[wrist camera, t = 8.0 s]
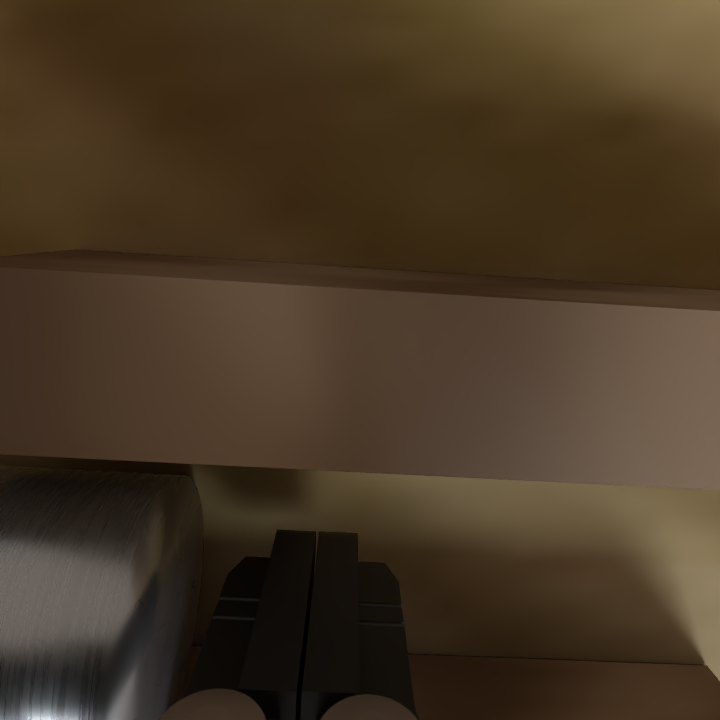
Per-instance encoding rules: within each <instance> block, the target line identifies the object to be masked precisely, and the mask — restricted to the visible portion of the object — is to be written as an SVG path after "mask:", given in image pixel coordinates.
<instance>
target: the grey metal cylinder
mask: <svg viewBox="0 0 720 720" xmlns="http://www.w3.org/2000/svg"><path fill="white" fill-rule="evenodd" d="M202 565H203V517H202V508H201V502H200V497H199V494H198V490H197V488H196V486H195V483H194V482H193V481H192V479H191V478H190V477H188V476H184V475H166V474H148V473H129V472H111V471H93V470H75V469H56V468H38V467H20V466H1V465H0V720H159V718H160V717H161V716H162V715H163V714H164V713H165V712H166V711H167V710H168V709H169V708H170V707H171V706H172V705H174V704H175V703H177V702H178V700H179V696H180V692H181V689H182V685H183V681H184V677H185V673H186V669H187V665H188V660H189V655H190V651H191V646H192V641H193V635H194V630H195V624H196V618H197V611H198V604H199V597H200V588H201V578H202Z"/></svg>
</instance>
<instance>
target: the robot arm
mask: <svg viewBox="0 0 720 720" xmlns="http://www.w3.org/2000/svg"><path fill="white" fill-rule="evenodd" d="M315 551H316V531H295V530H277V533H276V536H275V540H274V544H273V549H272V553H271V557H270V558H268V557H247V556H246V557H245V558H244V559H243V560H242V561H241V562H240V563H239V564H238V565H237V566H236V567H235V568H234V569H233V570H232V571H230V572H229V573H228V575H227V578H226V581H225V583H224V586H223V589H222V592H221V595H220V600H218V603H217V606H216V609H215V611H214V614H213V619H212V620H211V623H210V625H209V628H208V631H207V634H206V637H205V639H204V642H203V645H202V648H201V651H200V653H199V656H198V659H197V662H196V665H195V668H194V670H193V673H192V676H191V679H190V682H189V684H188V687H187V690H186V693H185V695H184V698H183V699H181V700H179V701H178V702H177V703H175V704H174V705H172V706H171V707H170V708H169V709H168V710H167V711H166V712H165V713H164V714H163V715H162V716H161V717H160V718H159V720H419V718H418V715H417V713H416V709H415V704H414V698H413V690H412V682H411V674H410V667H409V659H408V651H407V644H406V636H405V628H404V621H403V613H402V608H401V598H400V590H399V582H398V580H397V579H396V578H395V576H394V575H393V574H392V572H391V571H390V569H389V568H388V567H387V565H386V564H385V563H379V562H358V536H357V533H340V532H319V538H318V547H317V556H316V566H315ZM314 571H315V575H314Z"/></svg>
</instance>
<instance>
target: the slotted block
mask: <svg viewBox="0 0 720 720" xmlns="http://www.w3.org/2000/svg"><path fill="white" fill-rule="evenodd" d="M0 454H3V455H23V456H43V457H63V458H83V459H103V460H123V461H143V462H164V463H184V464H204V465H224V466H244V467H264V468H284V469H305V470H325V471H345V472H365V473H385V474H405V475H425V476H445V477H466V478H486V479H506V480H526V481H546V482H566V483H586V484H607V485H627V486H647V487H667V488H687V489H707V490H720V290H708V289H692V288H676V287H661V286H645V285H629V284H613V283H597V282H581V281H565V280H549V279H533V278H517V277H501V276H485V275H469V274H453V273H438V272H422V271H406V270H390V269H374V268H358V267H342V266H326V265H310V264H294V263H278V262H262V261H246V260H230V259H215V258H199V257H183V256H167V255H151V254H135V253H119V252H103V251H87V250H68V251H57V252H46V253H35V254H24V255H13V256H2V257H0ZM201 648H202V646H191V651H190V655H189V660H188V665H187V669H186V673H185V677H184V681H183V685H182V689H181V692H180V696H179V700H181V699H183V698H184V695H185V693H186V690H187V687H188V684H189V682H190V679H191V676H192V673H193V670H194V668H195V665H196V662H197V659H198V656H199V653H200V651H201ZM408 659H409V667H410V674H411V682H412V690H413V698H414V704H415V709H416V713H417V715H418V718H419V720H720V681H719V680H718V679H717V677H716V676H715V675H714V674H713V672H712V671H711V670H710V669H709V668H708V666H703V665H677V664H651V663H625V662H598V661H572V660H546V659H520V658H494V657H467V656H441V655H415V654H408ZM179 700H178V701H179Z"/></svg>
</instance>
